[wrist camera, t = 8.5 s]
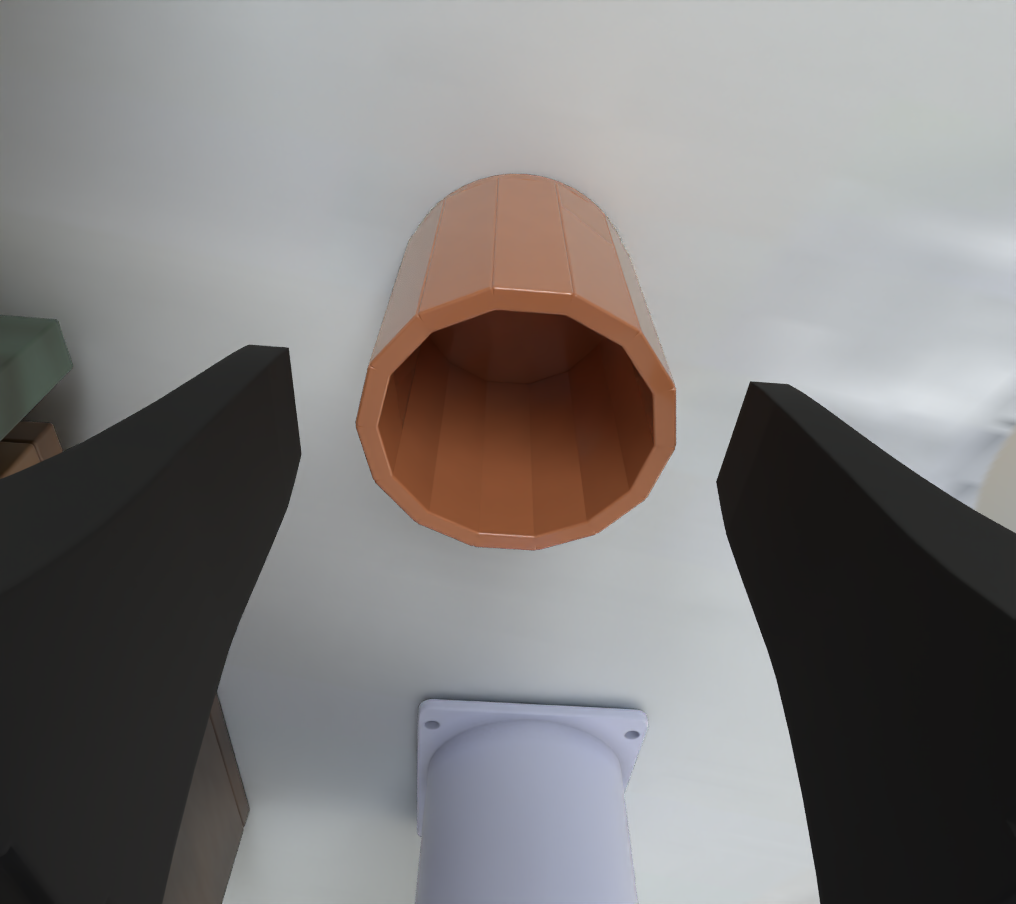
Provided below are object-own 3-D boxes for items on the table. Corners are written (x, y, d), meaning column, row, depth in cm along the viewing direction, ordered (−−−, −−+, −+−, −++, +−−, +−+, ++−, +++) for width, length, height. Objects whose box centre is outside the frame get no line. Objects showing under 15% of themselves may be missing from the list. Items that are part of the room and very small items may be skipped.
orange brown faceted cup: (610, 392, 17) (645, 558, 13) (401, 377, 17) (362, 541, 12) (652, 184, 14) (716, 304, 10) (398, 162, 14) (346, 275, 9)
